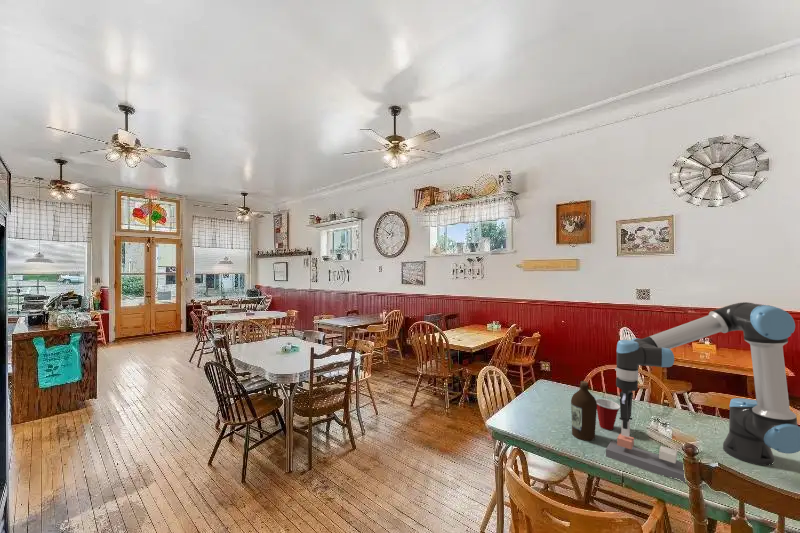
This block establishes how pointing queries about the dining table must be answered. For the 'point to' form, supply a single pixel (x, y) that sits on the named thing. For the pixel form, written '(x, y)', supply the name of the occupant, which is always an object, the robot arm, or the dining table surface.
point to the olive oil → (583, 413)
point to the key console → (645, 460)
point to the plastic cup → (607, 413)
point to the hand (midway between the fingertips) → (625, 435)
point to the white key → (668, 454)
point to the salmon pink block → (625, 441)
